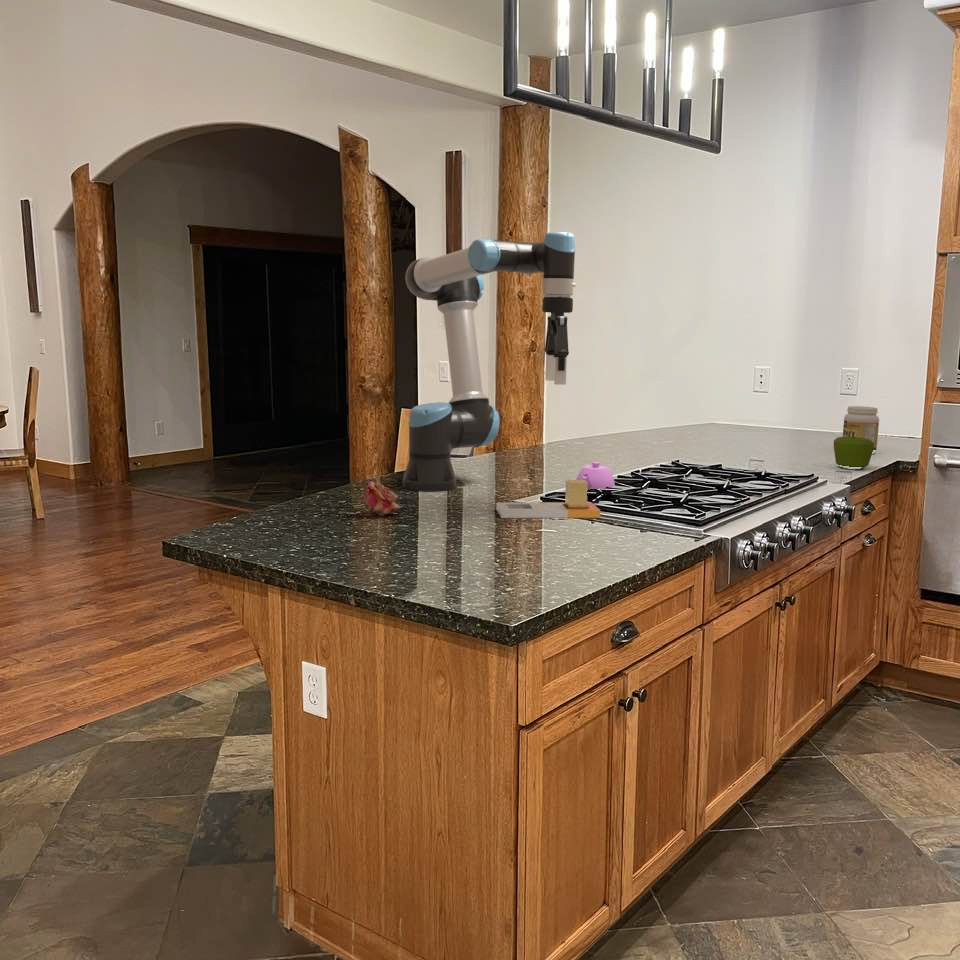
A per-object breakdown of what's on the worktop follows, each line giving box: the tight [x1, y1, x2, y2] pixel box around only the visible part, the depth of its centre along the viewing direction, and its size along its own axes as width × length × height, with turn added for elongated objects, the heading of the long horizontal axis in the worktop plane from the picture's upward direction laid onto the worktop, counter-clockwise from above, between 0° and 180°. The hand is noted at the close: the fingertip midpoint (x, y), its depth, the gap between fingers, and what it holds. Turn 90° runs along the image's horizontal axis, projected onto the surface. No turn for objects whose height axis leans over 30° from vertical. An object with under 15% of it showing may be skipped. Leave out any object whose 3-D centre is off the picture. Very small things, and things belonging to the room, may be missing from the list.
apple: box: [833, 435, 874, 468], centre depth 323 cm, size 12×12×11 cm
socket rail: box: [495, 501, 601, 519], centre depth 238 cm, size 24×10×2 cm, turn 96°
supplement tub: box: [842, 405, 880, 451], centre depth 361 cm, size 12×12×17 cm
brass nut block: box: [564, 479, 588, 509], centre depth 238 cm, size 4×4×8 cm
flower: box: [363, 480, 402, 518], centre depth 236 cm, size 10×9×8 cm
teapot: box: [575, 461, 616, 489], centre depth 264 cm, size 10×15×9 cm
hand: (555, 382), depth 245 cm, fingers open, 13 cm apart
